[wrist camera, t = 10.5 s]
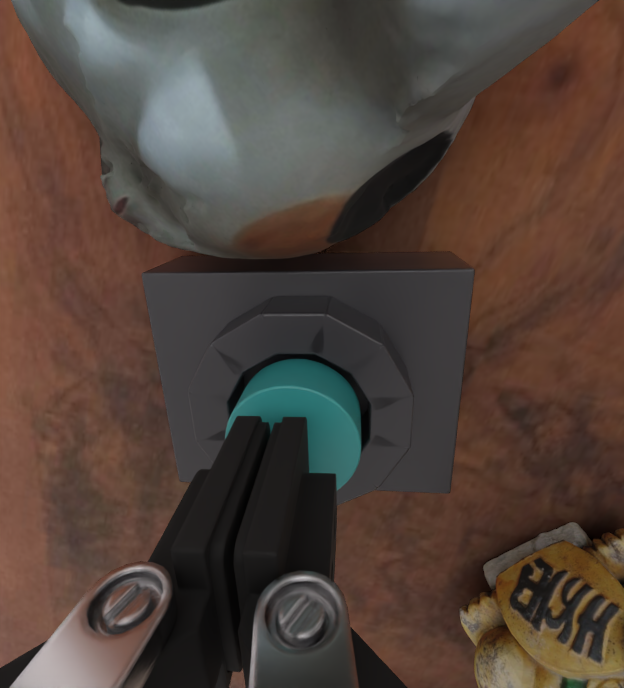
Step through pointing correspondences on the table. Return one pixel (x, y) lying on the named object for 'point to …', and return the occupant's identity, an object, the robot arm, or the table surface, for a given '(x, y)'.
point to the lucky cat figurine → (277, 105)
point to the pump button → (309, 411)
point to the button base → (320, 350)
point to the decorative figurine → (551, 614)
